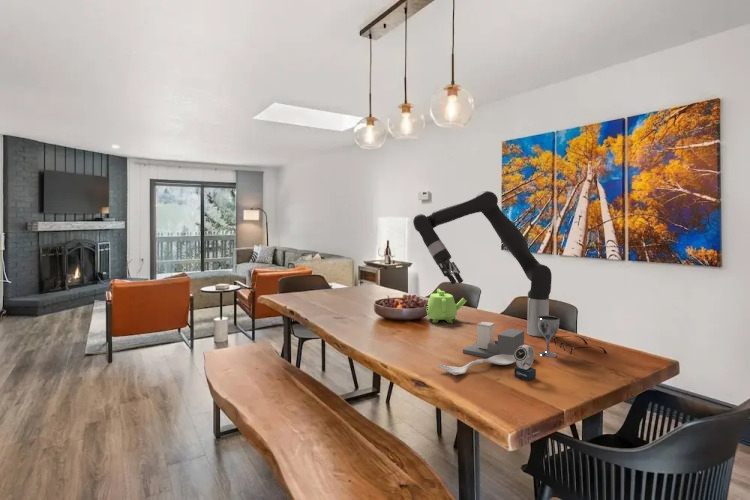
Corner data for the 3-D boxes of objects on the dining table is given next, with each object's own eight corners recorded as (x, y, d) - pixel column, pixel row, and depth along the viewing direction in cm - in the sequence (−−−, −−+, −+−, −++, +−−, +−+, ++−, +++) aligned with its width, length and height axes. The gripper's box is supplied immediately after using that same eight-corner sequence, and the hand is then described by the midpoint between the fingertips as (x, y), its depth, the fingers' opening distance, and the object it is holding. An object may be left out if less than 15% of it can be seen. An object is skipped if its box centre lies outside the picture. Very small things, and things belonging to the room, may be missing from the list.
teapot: (470, 325, 218) (471, 294, 217) (428, 325, 218) (429, 294, 217) (461, 314, 243) (461, 287, 242) (424, 314, 243) (424, 287, 242)
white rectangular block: (477, 347, 174) (477, 323, 173) (482, 344, 178) (482, 321, 177) (489, 349, 170) (489, 325, 170) (494, 346, 174) (494, 323, 174)
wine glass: (548, 358, 164) (549, 320, 163) (532, 353, 171) (533, 316, 170) (562, 355, 168) (563, 318, 167) (546, 350, 175) (547, 314, 174)
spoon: (437, 373, 151) (437, 363, 151) (504, 357, 165) (504, 348, 165) (453, 381, 143) (453, 371, 143) (522, 364, 157) (522, 355, 157)
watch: (510, 377, 145) (511, 346, 144) (524, 372, 150) (524, 341, 149) (525, 382, 141) (526, 350, 140) (538, 377, 145) (539, 345, 145)
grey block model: (462, 352, 172) (463, 329, 172) (478, 344, 184) (479, 322, 183) (511, 363, 160) (511, 338, 159) (525, 353, 172) (525, 330, 171)
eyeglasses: (551, 344, 185) (551, 335, 185) (585, 343, 186) (585, 334, 186) (571, 356, 169) (572, 346, 168) (609, 355, 170) (609, 345, 170)
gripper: (439, 247, 186) (459, 279, 181) (451, 248, 198) (470, 277, 193) (426, 257, 189) (445, 288, 184) (439, 257, 201) (457, 286, 197)
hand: (458, 283), depth 189 cm, fingers open, 8 cm apart
